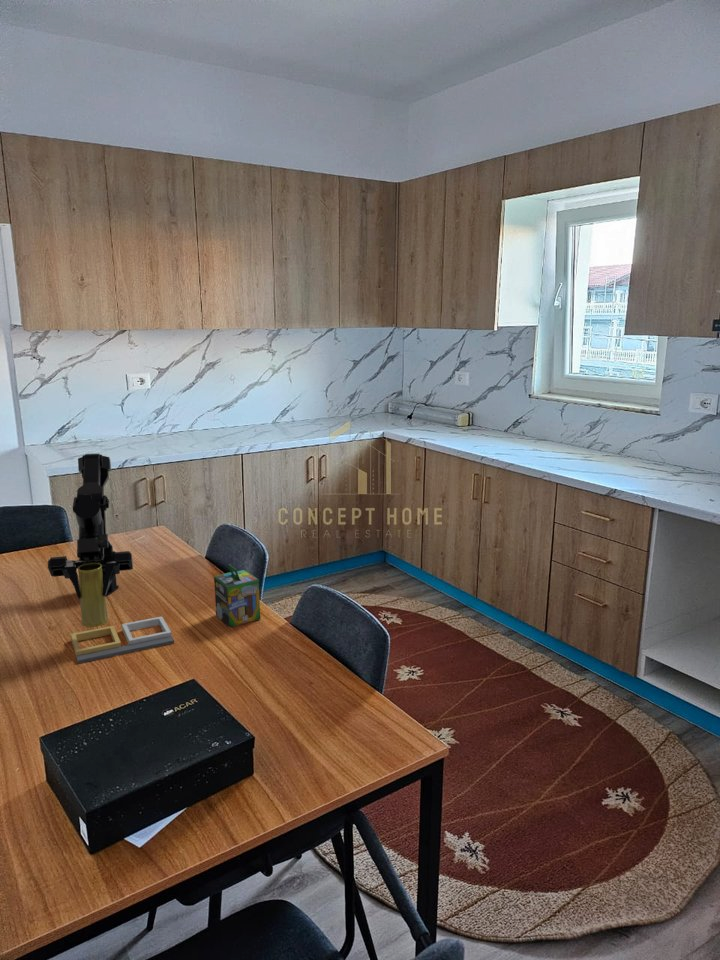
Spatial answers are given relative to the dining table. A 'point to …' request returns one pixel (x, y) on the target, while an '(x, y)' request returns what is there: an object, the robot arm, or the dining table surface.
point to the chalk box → (237, 597)
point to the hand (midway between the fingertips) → (91, 596)
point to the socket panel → (115, 646)
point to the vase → (92, 595)
